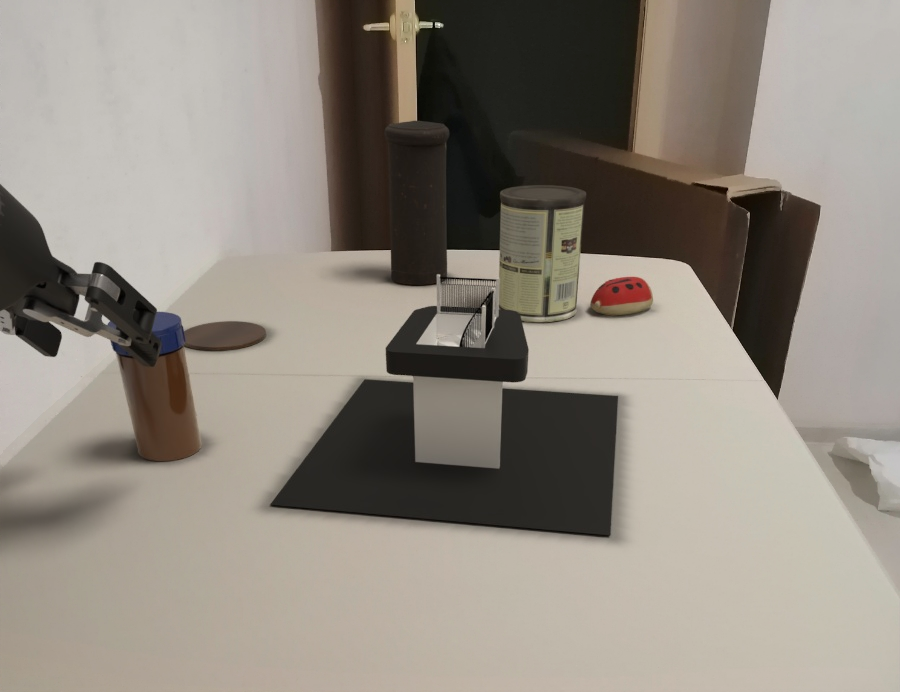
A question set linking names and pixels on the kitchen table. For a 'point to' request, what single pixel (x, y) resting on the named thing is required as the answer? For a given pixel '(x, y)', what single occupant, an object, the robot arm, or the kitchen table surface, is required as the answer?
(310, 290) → the kitchen table surface
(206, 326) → the coaster
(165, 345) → the lid
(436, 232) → the container
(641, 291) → the ladybug figurine
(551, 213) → the coffee can
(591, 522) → the black-topped pedestal
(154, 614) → the kitchen table surface
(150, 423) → the jar
